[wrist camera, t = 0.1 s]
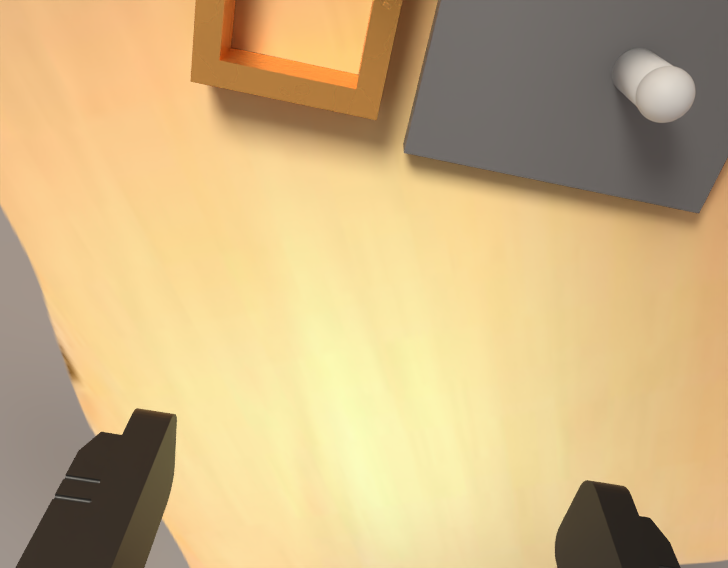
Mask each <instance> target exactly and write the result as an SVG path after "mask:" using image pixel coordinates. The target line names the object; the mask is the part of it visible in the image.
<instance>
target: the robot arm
mask: <svg viewBox="0 0 728 568" xmlns="http://www.w3.org/2000/svg"><path fill="white" fill-rule="evenodd" d="M176 426H177V417H176V414H170V413H163V412H157V411H151V410H144V409H138V408H137V409H135V410H134V412H133V414H132V416H131V418H130V420H129V422H128V424H127V426H126V428H125V430H124V432H123V434H122V435H118V434H112V433H105V432H100V433H99V434H98V435H97V436H96V437H94V438H93V439H92V440H91V441H90V442H89V443H87V444H86V445H85V446H84V447H83V448H81V449H80V450H79V451H78V453H77V455H76V457H75V458H74V460H73V462H72V464H71V466H70V468H69V470H68V471H67V473H66V477H65V479H64V480H63V481H62V483H61V484H60V486H59V488H58V490H57V492H56V494H55V498H54V499H52V501H51V503H50V505H49V507H48V509H47V510H46V512H45V514H44V516H43V518H42V520H41V521H40V523H39V525H38V527H37V529H36V531H35V533H34V534H33V537H32V538H31V540H30V542H29V544H28V545H27V547H26V549H25V551H24V553H23V555H22V557H21V558H20V561H19V562H18V564H17V566H16V568H144V567H145V564H146V561H147V558H148V555H149V553H150V550H151V547H152V544H153V542H154V539H155V536H156V533H157V530H158V527H159V525H160V522H161V519H162V516H163V513H164V510H165V508H166V505H167V502H168V499H169V495H170V491H171V487H172V482H173V476H174V467H175V446H176ZM555 558H556V563H557V568H680V565H679V563H678V561H677V558H676V556H675V554H674V551H673V549H672V546H671V544H670V542H669V541H668V539H667V538H666V537H665V536H664V534H663V533H662V532H661V531H660V530H659V528H658V527H657V526H656V525H655V523H654V522H653V521H652V520H651V519H650V518H648V517H642V516H639V514H638V512H637V509H636V507H635V504H634V502H633V499H632V496H631V494H630V492H629V490H628V489H627V488H626V487H624V486H620V485H614V484H607V483H601V482H594V481H588V480H587V481H584V482H583V483H582V484H581V486H580V488H579V490H578V492H577V493H576V495H575V497H574V499H573V501H572V503H571V505H570V507H569V509H568V511H567V513H566V515H565V517H564V519H563V521H562V523H561V525H560V527H559V529H558V532H557V536H556V541H555Z"/></svg>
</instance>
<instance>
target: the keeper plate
mask: <svg viewBox="0 0 728 568" xmlns="http://www.w3.org/2000/svg"><path fill="white" fill-rule="evenodd" d="M403 147H404V153H407V154H412V155H417V156H422V157H427V158H432V159H437V160H441V161H446V162H451V163H456V164H461V165H466V166H471V167H476V168H480V169H485V170H490V171H495V172H500V173H505V174H510V175H515V176H519V177H524V178H529V179H534V180H539V181H544V182H549V183H553V184H558V185H563V186H568V187H573V188H578V189H583V190H588V191H592V192H597V193H602V194H607V195H612V196H617V197H622V198H627V199H631V200H636V201H641V202H646V203H651V204H656V205H661V206H665V207H670V208H675V209H680V210H685V211H690V212H695V213H699V212H700V210H701V208H702V206H703V204H704V203H705V201H706V199H707V197H708V195H709V193H710V191H711V189H712V187H713V185H714V183H715V181H716V179H717V177H718V175H719V173H720V171H721V169H722V167H723V166H724V164H725V162H726V160H727V158H728V0H438V3H437V7H436V11H435V15H434V19H433V24H432V28H431V32H430V36H429V40H428V44H427V48H426V52H425V57H424V61H423V65H422V69H421V73H420V77H419V81H418V85H417V90H416V94H415V98H414V102H413V106H412V110H411V114H410V118H409V123H408V127H407V131H406V135H405V139H404V143H403Z"/></svg>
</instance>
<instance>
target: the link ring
mask: <svg viewBox="0 0 728 568" xmlns="http://www.w3.org/2000/svg"><path fill="white" fill-rule="evenodd" d="M235 1H236V0H196V6H195V21H194V37H193V52H192V68H191V82H195V83H200V84H205V85H210V86H215V87H219V88H224V89H229V90H234V91H239V92H243V93H248V94H253V95H258V96H262V97H267V98H272V99H277V100H282V101H286V102H291V103H296V104H301V105H306V106H310V107H315V108H320V109H325V110H330V111H334V112H339V113H344V114H349V115H354V116H358V117H363V118H368V119H373V120H377V116H378V111H379V107H380V102H381V98H382V93H383V88H384V84H385V79H386V74H387V70H388V65H389V61H390V56H391V51H392V47H393V42H394V38H395V33H396V28H397V24H398V19H399V14H400V10H401V5H402V1H403V0H373V2H372V7H371V12H370V17H369V22H368V27H367V33H366V38H365V43H364V48H363V53H362V58H361V63H360V68H359V74H358V75H357V74H352V73H347V72H343V71H338V70H333V69H329V68H324V67H319V66H315V65H310V64H305V63H301V62H296V61H291V60H286V59H282V58H277V57H272V56H268V55H263V54H258V53H254V52H249V51H244V50H240V49H235V48H231V43H232V33H233V22H234V12H235Z"/></svg>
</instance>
